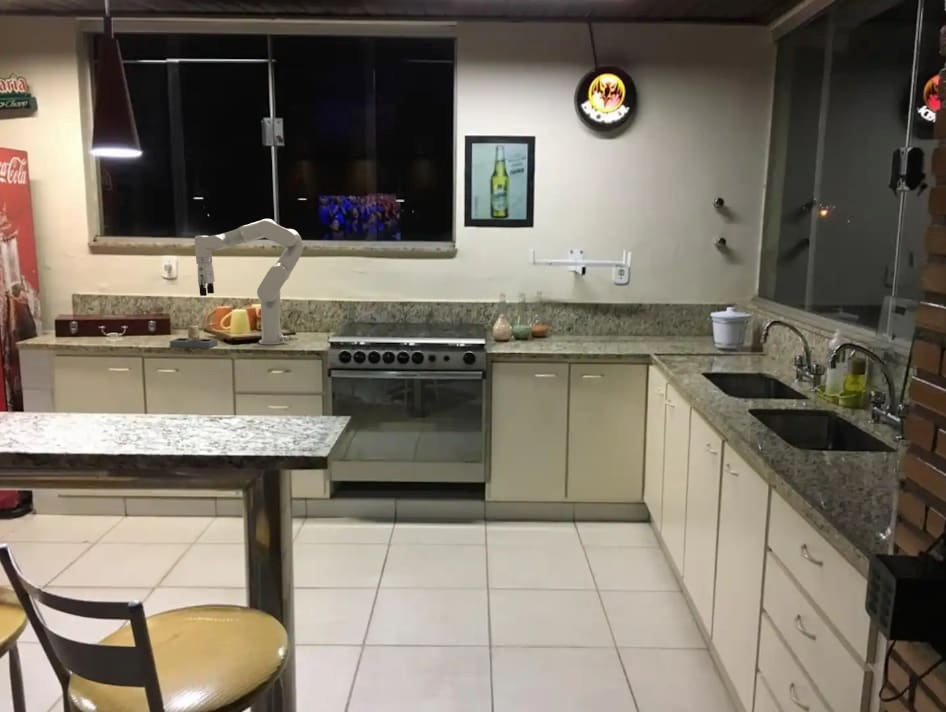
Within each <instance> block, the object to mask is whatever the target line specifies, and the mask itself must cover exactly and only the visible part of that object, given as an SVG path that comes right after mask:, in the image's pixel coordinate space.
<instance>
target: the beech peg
mask: <svg viewBox="0 0 946 712" xmlns="http://www.w3.org/2000/svg"><path fill="white" fill-rule="evenodd" d="M187 338H188V341H198V340H200V338H201V337H200V326H199V325H193V324H192V325H189V326H187Z"/></svg>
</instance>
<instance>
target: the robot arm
mask: <svg viewBox="0 0 946 712" xmlns="http://www.w3.org/2000/svg"><path fill="white" fill-rule="evenodd" d="M264 238H266V239H267V240H268V241H269V240H270V241H271V242H273V243H276V244H277V245H280V246H282V247H284V250H283V252H282V253H281V255H280V257H279V259H278V260H277V261H276V263H275V264H274V265H272V266H271V267H270V268H269V270H268V271H267V273H266V275H264V278H263V279H262V281H261V282H260V284H259V285H258V288H257V291H256V293H257V297H258V299H259V300H260V323H261V339H259V340H258V344H261V345H265V346H266V345H267V346H271V345H281V344H284V343H285V341H289V340H290V339H289V338H290V336H288V335H284V334H283V332H281V331H282V330H281V328H282V327H281V326H282V325H281V289H282V287H283V286H284V285H285V282H287V280H288V279H289V278H290V275H291V274H292V272H293V270H294V269H295V267H296V265H297V263H298V262H299V260H300V259H301V256H302V253H303V248H304V247H303V239H302V237H301V235H300V234H299V232H298V231H297V230H295V229H292V228H285V227H283V226H281V225H280V224H278V223H276V222H275V221H274V220H273V219H271V218H264V219H261V220H258V221H255V222H251V223H249V224H245V225H241V226H239V227H238V228H236V229H233V230H230V231H227V232H223V233H220V234H214V235H210V236H209V235H196V236H195V237H194V239H193V240H194V248H195V249H194V251H195V259H196V260H195V261H196V265H197V282H198V283H197V284H198V287H199V296H200V297H207V294H214V293H215V289H214V285H215V284H214V282H215V280H216V279H215V272H214V267H213V255H212V251H221V250H224V249H228V248H231V247H234V246H237V245H242V244H248V243H251V242H254V241H258V240H260V239H264Z"/></svg>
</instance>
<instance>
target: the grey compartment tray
mask: <svg viewBox="0 0 946 712" xmlns="http://www.w3.org/2000/svg"><path fill="white" fill-rule="evenodd" d="M199 338H200V340H198V341H188V337H177V338H175V339H172V340H170V341H169V348H179V349H180V348H181V349H183V348H185V349H211V348H214V347H217V346H218V345H219V341H218V338H201V337H199Z"/></svg>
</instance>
